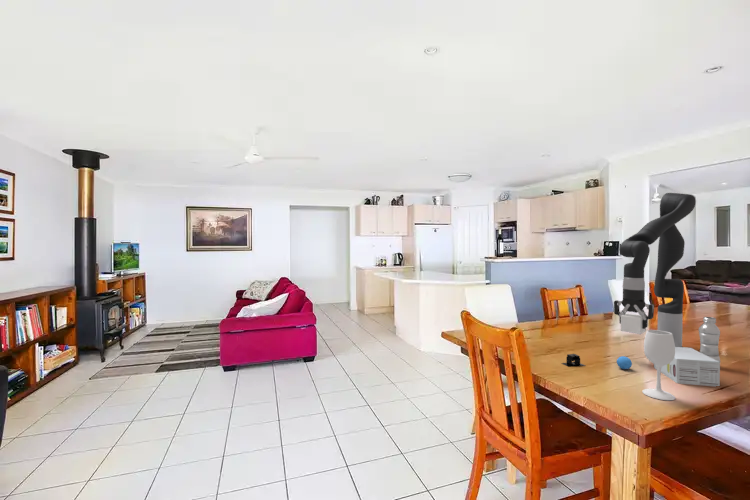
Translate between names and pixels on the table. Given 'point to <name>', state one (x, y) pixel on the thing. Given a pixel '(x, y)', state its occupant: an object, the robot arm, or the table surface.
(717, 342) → the plastic bottle
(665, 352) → the wineglass
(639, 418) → the table surface
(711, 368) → the supplement box
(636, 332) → the smooth white box
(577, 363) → the black screwed bracket block
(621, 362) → the ball
